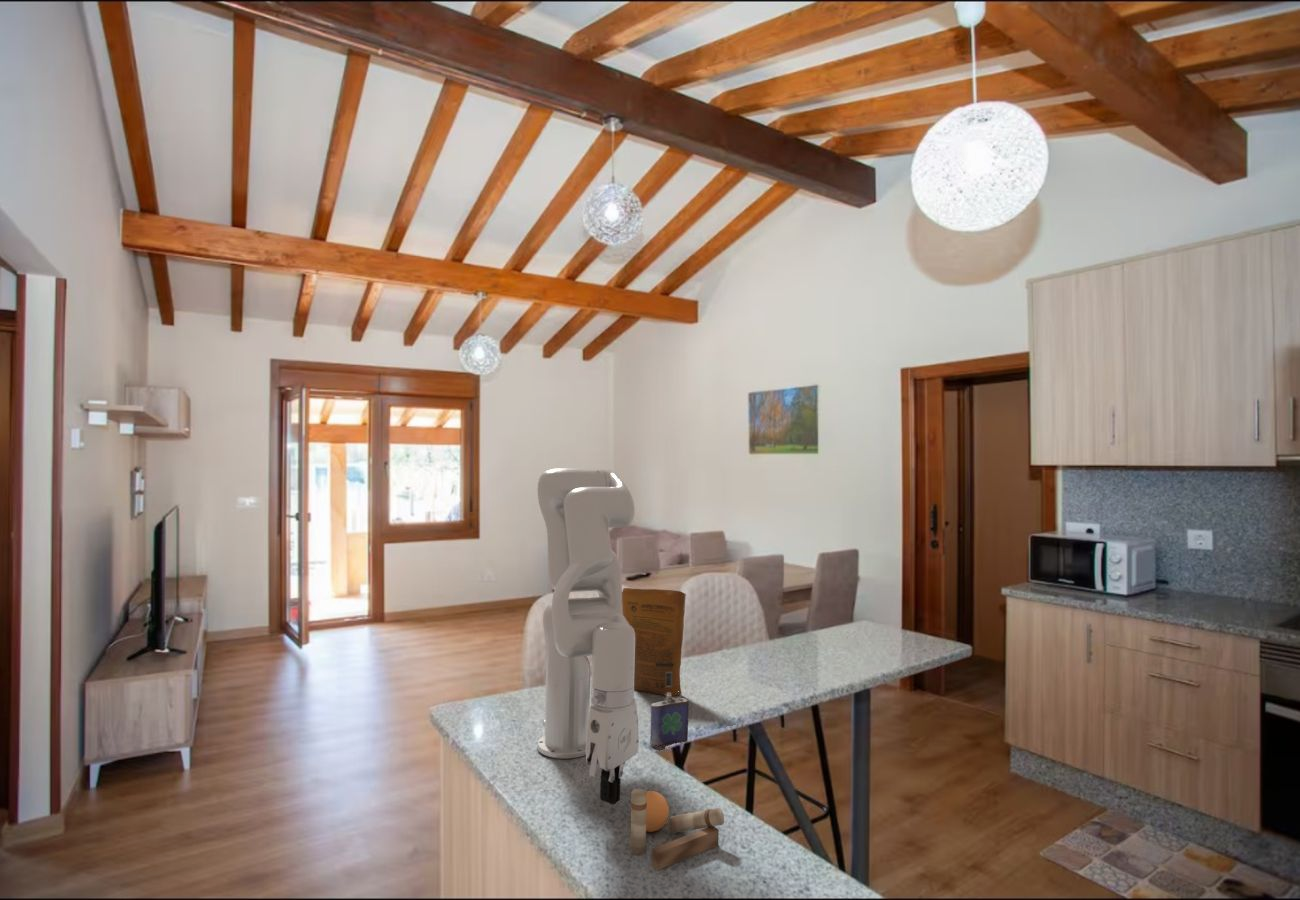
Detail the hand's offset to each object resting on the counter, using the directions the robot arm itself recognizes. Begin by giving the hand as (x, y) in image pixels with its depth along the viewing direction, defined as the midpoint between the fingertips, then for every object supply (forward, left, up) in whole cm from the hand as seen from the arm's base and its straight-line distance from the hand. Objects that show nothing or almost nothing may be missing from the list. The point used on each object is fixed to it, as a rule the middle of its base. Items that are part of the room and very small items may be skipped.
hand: (610, 800), depth 117 cm
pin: (+11, +5, -1) cm, 13 cm away
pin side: (+13, -3, -2) cm, 13 cm away
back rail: (+18, +3, -2) cm, 18 cm away
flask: (-18, +27, -2) cm, 32 cm away
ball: (+9, +2, +1) cm, 9 cm away
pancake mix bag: (-48, +44, -2) cm, 65 cm away
